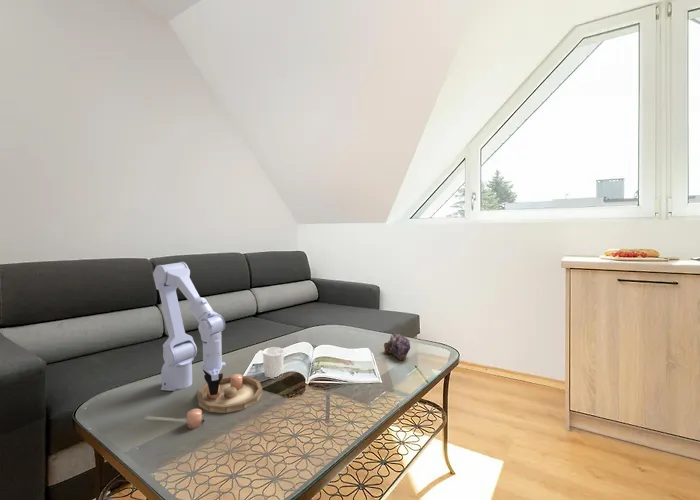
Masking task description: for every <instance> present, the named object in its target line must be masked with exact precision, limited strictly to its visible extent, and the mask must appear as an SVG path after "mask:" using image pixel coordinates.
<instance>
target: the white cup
mask: <svg viewBox="0 0 700 500" xmlns="http://www.w3.org/2000/svg"><path fill="white" fill-rule="evenodd" d="M262 360H263V361H262V363H263V372H264V374H265V375H264V374H263V375H264V377H265V376H267V377H270V378H269V379H275V378H274V377H277V376H279V375H280V374H281V372H282V370H283V371H284V362H285V361H284V360H285V350H284V348H282V347H278V346H273V347H267V348H264V349H263V351H262ZM267 377H266V378H267Z"/></svg>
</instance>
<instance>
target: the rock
mask: <svg viewBox="0 0 700 500" xmlns="http://www.w3.org/2000/svg"><path fill="white" fill-rule="evenodd" d="M383 347H384V351H383V352H384V353H385V354H387V355H391V356H393V357H396V358H397V359H398V360H400V361H401V360H402V361H404V360H405V359H406V357H407V356H408V354H409V352H410V349H411V342H410V339H408V338H407V337H406V336H404V335H402V334H400V333H392V334H391V335H390V339H389V340H388V342H385V343H384V344H383Z"/></svg>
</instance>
